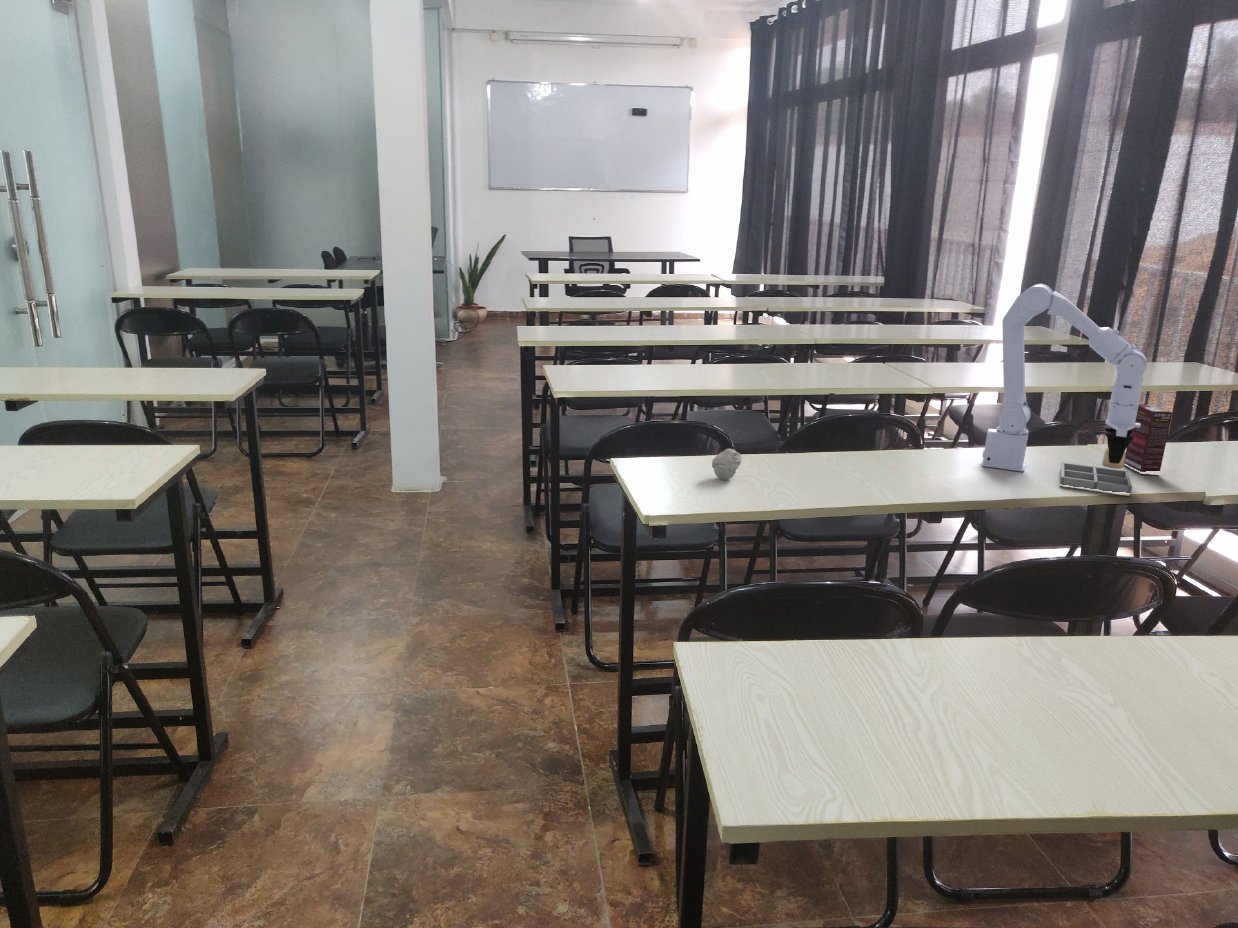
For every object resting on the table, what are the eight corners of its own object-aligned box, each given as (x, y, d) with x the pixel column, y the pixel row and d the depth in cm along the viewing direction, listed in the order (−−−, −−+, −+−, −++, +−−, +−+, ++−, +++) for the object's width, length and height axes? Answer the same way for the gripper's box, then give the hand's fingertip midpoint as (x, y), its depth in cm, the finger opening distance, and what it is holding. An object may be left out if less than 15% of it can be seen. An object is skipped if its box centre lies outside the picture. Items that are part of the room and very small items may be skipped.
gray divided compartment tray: (1059, 486, 204) (1061, 477, 204) (1060, 471, 217) (1061, 462, 216) (1129, 496, 199) (1131, 486, 198) (1126, 480, 211) (1127, 471, 210)
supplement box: (1160, 476, 215) (1174, 412, 211) (1140, 475, 216) (1153, 411, 211) (1141, 466, 224) (1153, 404, 219) (1121, 465, 224) (1134, 403, 219)
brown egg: (1102, 467, 207) (1106, 446, 206) (1101, 462, 211) (1105, 442, 210) (1123, 469, 205) (1127, 448, 204) (1122, 465, 209) (1126, 444, 208)
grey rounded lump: (745, 481, 201) (747, 451, 199) (719, 484, 198) (721, 454, 196) (731, 473, 206) (733, 444, 204) (705, 476, 203) (706, 447, 201)
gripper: (1146, 411, 196) (1135, 470, 200) (1141, 399, 209) (1130, 455, 212) (1110, 407, 199) (1100, 465, 203) (1107, 396, 211) (1097, 451, 215)
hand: (1113, 460), depth 208 cm, fingers closed on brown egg, 4 cm apart
